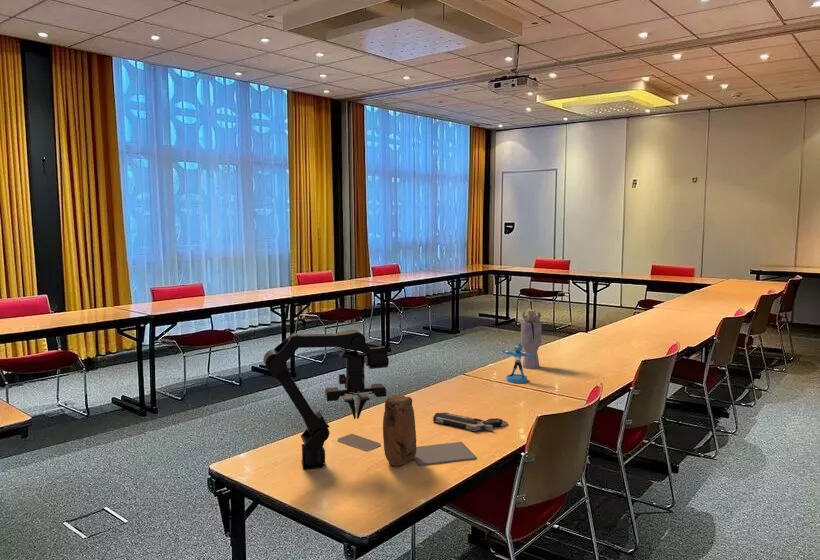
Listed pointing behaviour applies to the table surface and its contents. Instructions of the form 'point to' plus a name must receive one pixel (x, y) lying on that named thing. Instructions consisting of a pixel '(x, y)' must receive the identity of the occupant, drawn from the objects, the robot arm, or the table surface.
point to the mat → (442, 453)
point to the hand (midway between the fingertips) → (356, 418)
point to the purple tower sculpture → (531, 338)
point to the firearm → (468, 422)
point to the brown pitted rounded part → (399, 430)
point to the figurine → (517, 377)
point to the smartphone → (359, 442)
